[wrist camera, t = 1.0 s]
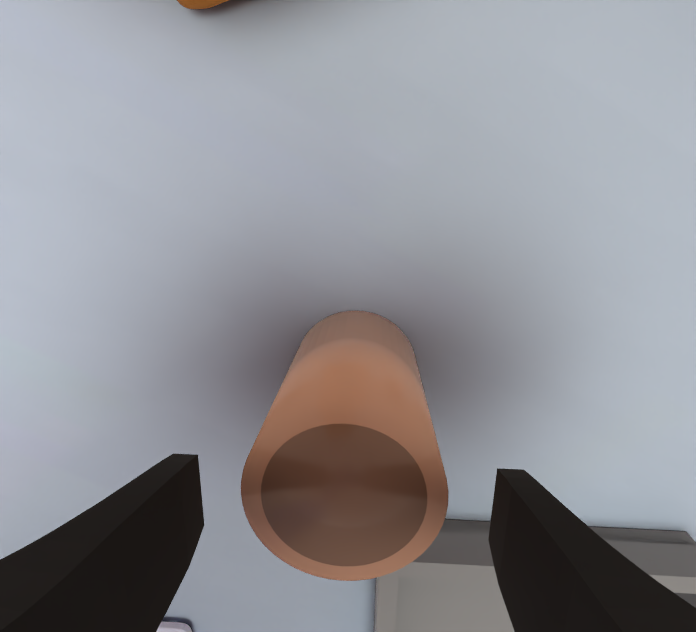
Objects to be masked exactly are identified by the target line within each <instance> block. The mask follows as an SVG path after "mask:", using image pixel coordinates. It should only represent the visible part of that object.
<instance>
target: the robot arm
mask: <svg viewBox="0 0 696 632" xmlns="http://www.w3.org/2000/svg"><path fill="white" fill-rule="evenodd" d="M203 527H204V518H203V507H202V496H201V484H200V473H199V462H198V455H190V454H172V455H171V456H169V457H167V458H165V459H164V460H162V461H161V462H159V463H158V464H156V465H155V466H153V467H152V468H150V469H149V470H147V471H146V472H144V473H143V474H141V475H140V476H138V477H137V478H135V479H134V480H132V481H131V482H129V483H128V484H126V485H125V486H123V487H122V488H120V489H119V490H117V491H116V492H114V493H113V494H111V495H110V496H108V497H107V498H105V499H104V500H102V501H101V502H99V503H98V504H96V505H94V506H93V507H91V508H90V509H88V510H86V511H85V512H83V513H81V514H80V515H78V516H77V517H75V518H73V519H72V520H70V521H68V522H67V523H65V524H63V525H62V526H60V527H59V528H57V529H55V530H54V531H52V532H50V533H49V534H47V535H45V536H43V537H42V538H40V539H38V540H36V541H35V542H33V543H31V544H29V545H27V546H26V547H24V548H22V549H20V550H18V551H16V552H14V553H12V554H10V555H8V556H7V557H5V558H3V559H1V560H0V632H192V630H191V628H190V627H189V626H188V625H187V624H185V623H178V622H162V620H163V618H164V616H165V614H166V612H167V610H168V608H169V606H170V604H171V602H172V600H173V598H174V596H175V594H176V592H177V590H178V588H179V586H180V584H181V582H182V580H183V578H184V576H185V574H186V572H187V570H188V568H189V565H190V563H191V560H192V557H193V555H194V552H195V549H196V547H197V544H198V541H199V538H200V535H201V532H202V530H203ZM488 541H489V545H490V550H491V555H492V559H493V564H494V568H495V572H496V577H497V581H498V585H499V588H500V591H501V594H502V597H503V600H504V603H505V605H506V608H507V611H508V614H509V617H510V620H511V623H512V626H513V628H514V631H515V632H696V608H695V607H694V606H692V605H691V604H689V603H688V602H687V601H685V600H684V599H682V598H681V597H679V596H678V595H676V594H675V593H674V592H672V591H671V590H669V589H668V588H666V587H665V586H663V585H662V584H661V583H659V582H658V581H656V580H655V579H654V578H652V577H651V576H650V575H648V574H647V573H646V572H644V571H643V570H642V569H640V568H639V567H638V566H636V565H635V564H634V563H633V562H631V561H630V560H629V559H628V558H626V557H625V556H624V555H622V554H621V553H620V552H619V551H617V550H616V549H615V548H613V547H612V546H611V545H610V544H609V543H607V542H606V541H605V540H604V539H602V538H601V537H600V536H599V535H598V534H596V533H595V532H594V531H593V530H592V529H591V528H589V527H588V526H587V525H586V524H585V523H584V522H582V521H581V520H580V519H579V518H578V517H577V516H575V515H574V514H573V513H572V512H571V511H570V510H569V509H568V508H566V507H565V506H564V505H563V504H562V503H561V502H560V501H559V500H557V499H556V498H555V497H554V496H553V495H552V494H551V493H550V492H549V491H547V490H546V489H545V488H544V487H543V486H542V485H541V484H540V483H539V482H537V481H536V480H535V479H534V478H533V477H532V476H531V475H529V474H528V473H527V472H526V471H525V470H518V469H497V475H496V483H495V491H494V499H493V507H492V515H491V523H490V531H489V539H488Z"/></svg>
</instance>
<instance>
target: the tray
mask: <svg viewBox="0 0 696 632" xmlns="http://www.w3.org/2000/svg"><path fill="white" fill-rule="evenodd" d="M490 523H491V522H484V521H465V520H445V519H444V522H443V525H442V527H441V529H440V531H439V533H438V535H437V537H436V538H435V539H434V541H433V542H432V544H431V545H430V546H429V547H428V548H427V549H426V550H425V551H424V553H423V554H421V555H420V556H419V557H418V558H416V559H415V560H414V561H413V562H411V563H409V564H408V565H406V566H405V567H403V568H401V569H399V570H397V571H394V572H392V573H389V574H386V575H383V576H380V577H376V591H375V615H374V632H515V631H514V628H513V626H512V623H511V620H510V617H509V614H508V611H507V608H506V605H505V603H504V600H503V597H502V594H501V591H500V588H499V585H498V581H497V577H496V572H495V568H494V564H493V559H492V555H491V550H490V545H489V541H488V539H489V531H490ZM589 528H591V529H592V530H593V531H594V532H595V533H596V534H598V535H599V536H600V537H601V538H602V539H604V540H605V541H606V542H607V543H609V544H610V545H611V546H612V547H613V548H615V549H616V550H617V551H619V552H620V553H621V554H622V555H624V556H625V557H626V558H628V559H629V560H630V561H631V562H633V563H634V564H635V565H636V566H638V567H639V568H640V569H642V570H643V571H644V572H646V573H647V574H648V575H650V576H651V577H652V578H654V579H655V580H656V581H658V582H659V583H661V584H662V585H663V586H665V587H666V588H668V589H669V590H671V591H672V592H674V593H675V594H676V595H678V596H679V597H681V598H682V599H684V600H685V601H687V602H688V603H689V604H691V605H692V606H694V607H695V608H696V542H695V541H694V540H693V539H692V537H691V536H690V535H689V534H688V533H687V532H684V531H664V530H644V529H624V528H604V527H589Z"/></svg>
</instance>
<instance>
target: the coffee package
mask: <svg viewBox="0 0 696 632" xmlns="http://www.w3.org/2000/svg"><path fill="white" fill-rule="evenodd" d="M177 1H178V2H179V3H180V4H181V5H182V6H184V7H186V8H189V9H206V8H211V7H213V6H216V5H218V4H221V3H223V2H226V1H229V0H177Z"/></svg>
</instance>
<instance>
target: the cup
mask: <svg viewBox="0 0 696 632" xmlns="http://www.w3.org/2000/svg"><path fill="white" fill-rule="evenodd" d="M241 496H242V504H243V507H244V511H245V514H246V517H247V519H248V521H249V524H250V526H251V527H252V529H253V531H254V532H255V534H256V535H257V537H258V538H259V539H260V540H261V542H262V543H263V544H264V545H265V546H266V547H267V548H268V549H269V550H270V551H271V552H272V553H273V554H274V555H276V556H277V557H278V558H280V559H281V560H282V561H284V562H286V563H287V564H289V565H291V566H292V567H294V568H296V569H299V570H301V571H303V572H305V573H308V574H311V575H314V576H318V577H322V578H327V579H333V580H346V581H355V580H365V579H371V578H376V577H380V576H383V575H386V574H389V573H392V572H394V571H397V570H399V569H401V568H403V567H405V566H406V565H408V564H409V563H411V562H413V561H414V560H415V559H416V558H418V557H419V556H420V555H421V554H423V553H424V551H425V550H426V549H427V548H428V547H429V546H430V545H431V544H432V542H433V541H434V539H435V538H436V537H437V535H438V533H439V531H440V529H441V527H442V525H443V522H444V519H445V516H446V513H447V507H448V486H447V479H446V475H445V471H444V467H443V463H442V459H441V456H440V452H439V448H438V444H437V440H436V436H435V432H434V428H433V424H432V420H431V416H430V413H429V409H428V405H427V401H426V397H425V393H424V389H423V385H422V381H421V377H420V373H419V370H418V366H417V362H416V358H415V354H414V351H413V348H412V346H411V344H410V342H409V340H408V338H407V337H406V335H405V334H404V333H403V332H402V331H401V329H399V328H398V327H397V326H396V325H395V324H394V323H392V322H391V321H389V320H388V319H386V318H384V317H382V316H380V315H377V314H374V313H370V312H366V311H344V312H339V313H336V314H333V315H330V316H328V317H326V318H324V319H323V320H321V321H319V322H318V323H317V324H316V325H314V326H313V327H312V328H311V329H310V330H309V331H308V332H307V334H306V335H305V337H304V338H303V340H302V342H301V344H300V346H299V348H298V350H297V352H296V355H295V357H294V359H293V361H292V363H291V365H290V367H289V370H288V372H287V374H286V376H285V378H284V380H283V382H282V385H281V387H280V389H279V391H278V393H277V395H276V397H275V400H274V402H273V404H272V406H271V408H270V410H269V413H268V415H267V417H266V419H265V421H264V423H263V425H262V428H261V430H260V432H259V434H258V436H257V438H256V440H255V443H254V445H253V447H252V449H251V451H250V453H249V455H248V458H247V460H246V463H245V466H244V469H243V474H242V480H241Z"/></svg>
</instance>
